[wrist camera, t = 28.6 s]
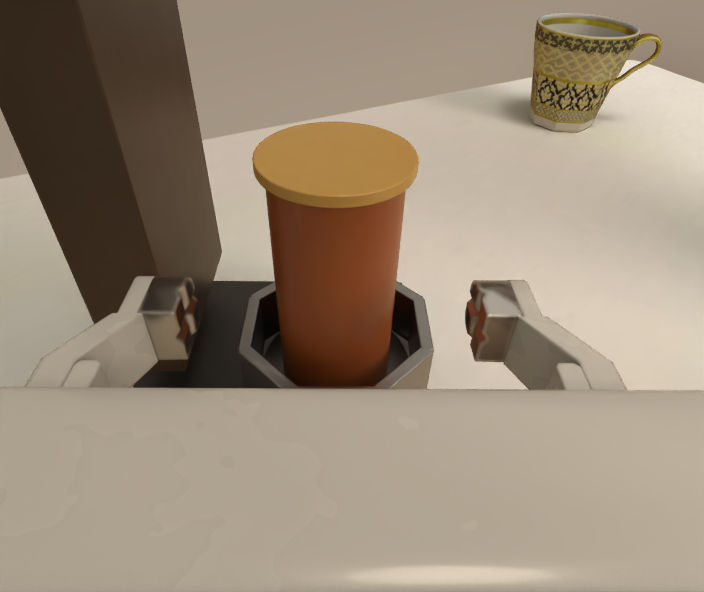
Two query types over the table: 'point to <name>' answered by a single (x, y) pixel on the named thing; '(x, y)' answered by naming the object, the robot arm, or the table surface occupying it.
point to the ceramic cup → (579, 66)
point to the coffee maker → (141, 169)
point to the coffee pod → (335, 245)
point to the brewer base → (217, 342)
